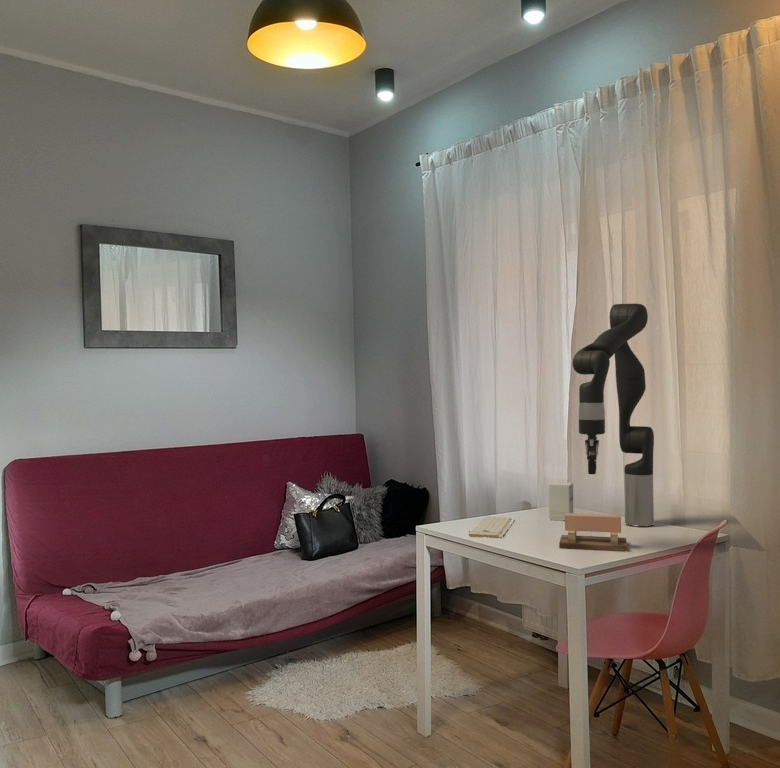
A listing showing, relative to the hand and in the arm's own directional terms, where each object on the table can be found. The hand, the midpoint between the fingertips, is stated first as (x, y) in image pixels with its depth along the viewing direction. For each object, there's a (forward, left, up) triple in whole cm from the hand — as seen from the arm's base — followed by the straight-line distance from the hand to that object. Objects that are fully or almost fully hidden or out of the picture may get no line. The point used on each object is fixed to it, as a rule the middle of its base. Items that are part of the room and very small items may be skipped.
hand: (592, 472), depth 223 cm
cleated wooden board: (0, 0, -22) cm, 22 cm away
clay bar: (0, 0, -17) cm, 17 cm away
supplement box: (-41, -12, -22) cm, 48 cm away
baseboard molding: (-19, -32, -23) cm, 44 cm away
